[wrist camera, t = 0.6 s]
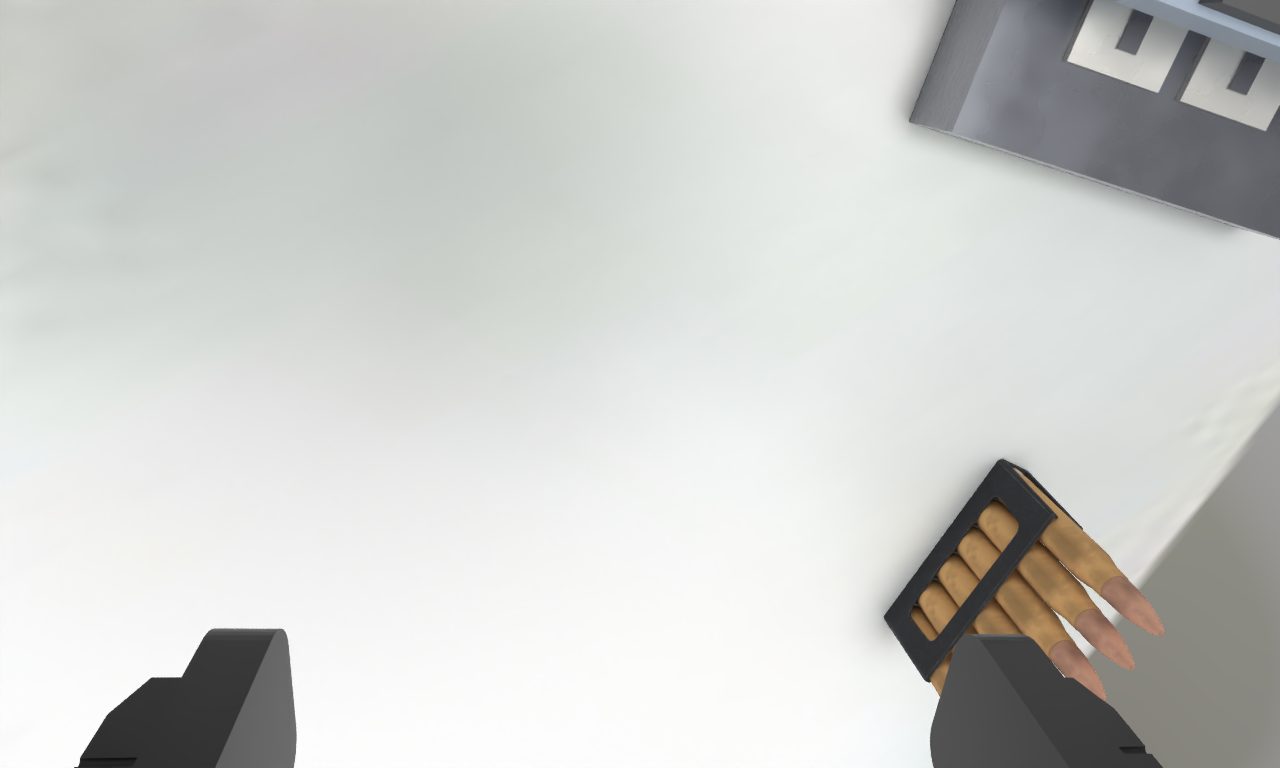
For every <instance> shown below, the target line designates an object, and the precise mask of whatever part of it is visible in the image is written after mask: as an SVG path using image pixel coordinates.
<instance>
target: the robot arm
mask: <svg viewBox="0 0 1280 768" xmlns="http://www.w3.org/2000/svg"><path fill="white" fill-rule="evenodd" d="M930 748H931V757H932V762H933V766H934V768H1163V767H1162V766H1161V765H1160V764H1159V763H1158V761H1157V760H1156V759H1155V758H1154V756H1153V755H1152V754H1147V753H1146V751H1145V745H1144V744H1143V743H1142V742H1141V741H1140V739H1139V738H1138V737H1137V736H1136V734H1135V733H1134V732H1133V731H1132V730H1131V728H1130V727H1129V726H1128V725H1127V724H1126V722H1125V721H1124V720H1123V719H1122V717H1121V716H1120V715H1119V714H1118V712H1117V711H1116V710H1115V709H1114V708H1113V707H1111V706H1110V705H1109V704H1107V703H1106V702H1105V701H1103V700H1102V699H1101V698H1099V697H1098V696H1097V695H1095V694H1094V693H1093V692H1091V691H1090V690H1089V689H1088V688H1086V687H1085V686H1084V685H1082V684H1081V683H1080V682H1078V681H1077V680H1076V679H1074V678H1064V677H1063V675H1062V674H1061V673H1060V672H1059V670H1058V669H1057V668H1056V667H1055V665H1054V664H1053V663H1052V661H1051V660H1050V659H1049V658H1048V656H1047V655H1046V654H1045V652H1044V651H1043V650H1042V649H1041V647H1040V646H1039V645H1038V644H1037V643H1036V642H1035V640H1033V639H1032V638H1031V637H1029V636H1027V635H1023V634H966V635H963V636H962V637H961V638H960V639H959V640H958V642H957V643H956V646H955V648H954V652H953V655H952V658H951V662H950V665H949V669H948V672H947V675H946V679H945V682H944V686H943V689H942V692H941V696H940V699H939V703H938V706H937V709H936V713H935V716H934V720H933V723H932V727H931V734H930ZM295 754H296V721H295V710H294V699H293V688H292V678H291V667H290V656H289V645H288V639H287V635H286V633H285V631H284V630H283V629H211V630H210V631H209V632H208V633H207V634H206V635H205V637H204V638H203V640H202V642H201V643H200V645H199V647H198V649H197V651H196V652H195V654H194V656H193V658H192V660H191V661H190V663H189V665H188V667H187V669H186V670H185V672H184V674H183V676H182V677H177V678H151V679H149V680H148V681H147V682H146V683H145V684H143V685H142V686H141V687H140V688H139V689H137V690H136V691H135V692H134V693H133V694H131V695H130V696H129V697H128V698H127V699H125V700H124V701H123V702H122V703H121V704H119V705H118V706H117V707H116V708H115V709H114V710H112V711H111V712H110V713H109V714H108V715H107V716H106V718H105V719H104V721H103V723H102V724H101V726H100V727H99V729H98V731H97V732H96V734H95V735H94V737H93V738H92V740H91V742H90V743H89V745H88V746H87V748H86V750H85V751H84V753H83V754H82V756H81V758H80V764H79V766H78V767H74V768H294V762H295Z"/></svg>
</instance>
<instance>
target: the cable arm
mask: <svg viewBox="0 0 1280 768" xmlns="http://www.w3.org/2000/svg"><path fill="white" fill-rule="evenodd" d="M1112 1H1114V2H1117V3H1119V4H1122V5H1125V6H1127V7H1130V8H1133V9H1135V10H1138V11H1141V12H1143V13H1146V14H1149V15H1151V16H1154V17H1157V18H1159V19H1162V20H1165V21H1167V22H1170V23H1173V24H1175V25H1178V26H1181V27H1183V28H1186V29H1189V30H1191V31H1194V32H1197V33H1199V34H1202V35H1205V36H1207V37H1210V38H1213V39H1215V40H1218V41H1221V42H1223V43H1226V44H1229V45H1231V46H1234V47H1237V48H1239V49H1242V50H1245V51H1247V52H1250V53H1253V54H1255V55H1258V56H1261V57H1263V58H1266V59H1269V60H1271V61H1274V62H1277V63H1279V64H1280V0H1112Z"/></svg>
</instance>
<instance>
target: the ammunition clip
mask: <svg viewBox="0 0 1280 768" xmlns="http://www.w3.org/2000/svg"><path fill="white" fill-rule="evenodd" d="M1038 539H1039V540H1040V541H1041V542H1042V543H1043V544H1044V545H1045V546H1044V545H1043V544H1042V543H1041V542H1040V541H1039V540H1038ZM1059 561H1060V562H1061V563H1062V564H1063V565H1064V566H1065V567H1066V568H1067V569H1068V570H1069V571H1070V572H1071V573H1072V574H1073V575H1074V576H1075V577H1076V578H1078V579H1079V580H1080V581H1082V582H1083V583H1085V584H1086V585H1088V586H1089V587H1091V588H1092V589H1093V590H1094V591H1095V592H1097V593H1098V594H1099V595H1100V596H1101V597H1102V598H1103V599H1105V600H1106V601H1107V602H1108V603H1109V604H1110V605H1111V606H1112V607H1113V608H1114V609H1116V610H1117V611H1118V612H1119V613H1120V614H1122V615H1123V616H1124V617H1126V618H1127V619H1128V620H1130V621H1131V622H1133V623H1134V624H1135V625H1137V626H1139V627H1140V628H1142V629H1144V630H1146V631H1147V632H1150V633H1152V634H1155V635H1158V636H1163V635H1164V629H1163V625H1162V623H1161V621H1160V619H1159V617H1158V616H1157V614H1156V612H1155V610H1154V609H1153V607H1152V606H1151V605H1150V603H1149V602H1148V601H1147V600H1146V598H1145V597H1144V596H1143V595H1142V594H1141V592H1140V591H1139V590H1138V589H1137V588H1136V587H1135V586H1134V585H1133V584H1132V583H1131V582H1130V581H1129V580H1128V578H1127V577H1126V576H1125V575H1124V574H1123V573H1122V572H1121V571H1120V570H1119V569H1118V568H1117V567H1116V565H1115V563H1114V562H1113V560H1112V559H1111V557H1110V556H1109V555H1108V554H1107V553H1106V552H1105V551H1104V550H1103V549H1102V548H1101V547H1100V546H1099V545H1098V544H1097V543H1096V542H1095V541H1094V540H1093V539H1091V538H1090V537H1089V536H1088V535H1087V534H1086V533H1085V532H1084V531H1083V528H1082V527H1081V526H1080V525H1079V524H1078V523H1077V522H1076V521H1075V520H1074V519H1073V518H1072V517H1071V516H1070V515H1069V513H1068V512H1067V511H1066V510H1065V509H1064V508H1063V507H1062V506H1061V505H1060V504H1059V503H1058V502H1057V501H1056V500H1055V499H1054V498H1053V497H1052V496H1051V495H1050V494H1049V493H1048V491H1047V490H1046V489H1045V488H1044V487H1043V486H1042V485H1041V484H1040V483H1039V482H1038V481H1037V480H1036V479H1035V478H1034V477H1033V476H1032V475H1031V474H1030V473H1029V472H1028V471H1026V470H1024V469H1022V468H1020V467H1018V466H1016V465H1014V464H1012V463H1010V462H1008V461H1006V460H1004V459H1003V460H999V461H997V463H996V464H995V466H994V467H993V468H992V470H991V471H990V472H989V474H988V475H987V476H986V478H985V479H984V481H983V482H982V483H981V485H980V486H979V487H978V489H977V490H976V491H975V493H974V494H973V496H972V497H971V498H970V500H969V501H968V502H967V504H966V505H965V506H964V508H963V509H962V511H961V512H960V513H959V515H958V516H957V517H956V519H955V520H954V521H953V523H952V524H951V526H950V527H949V528H948V530H947V531H946V532H945V534H944V535H943V536H942V538H941V539H940V541H939V542H938V543H937V545H936V546H935V547H934V549H933V550H932V551H931V553H930V554H929V556H928V557H927V558H926V560H925V561H924V562H923V564H922V565H921V566H920V568H919V569H918V571H917V572H916V573H915V575H914V576H913V577H912V579H911V580H910V581H909V583H908V584H907V586H906V587H905V588H904V590H903V591H902V592H901V594H900V595H899V596H898V598H897V599H896V601H895V602H894V603H893V605H892V606H891V607H890V609H889V610H888V611H887V613H886V614H885V616H884V619H885V621H886V622H887V624H888V625H889V627H890V628H891V630H892V631H893V633H894V634H895V636H896V637H897V639H898V641H899V642H900V644H901V645H902V647H903V648H904V650H905V651H906V653H907V654H908V656H909V657H910V659H911V660H912V662H913V663H914V665H915V666H916V668H917V669H918V671H919V673H920V674H921V676H922V677H923V679H924V680H925V681H927V682H929V683H930V682H932V684H933V686H934V687H935V689H936V691H937V692H938V694H939V696H941V692H942V689H943V686H944V682H945V679H946V675H947V672H948V669H949V665H950V662H951V658H952V655H953V652H954V648H955V646H956V643H957V642H958V640H959V639H960V638H961V637H962V636H963V635H966V634H1023V635H1027V636H1029V637H1031V638H1032V639H1033V640H1035V642H1036V643H1037V644H1038V645H1039V646H1040V647H1041V649H1042V650H1043V651H1044V652H1045V654H1046V655H1047V656H1048V658H1049V659H1050V660H1051V661H1052V662H1053V663H1054V664H1055V666H1056V667H1057V668H1058V669H1059V670H1060V671H1061V673H1062V674H1063V675H1064V676H1065V677H1066V678H1074V679H1076V680H1077V681H1078V682H1080V683H1081V684H1082V685H1084V686H1085V687H1086V688H1088V689H1089V690H1090V691H1091V692H1093V693H1094V694H1095V695H1097V696H1098V697H1099V698H1101V699H1102V700H1103V701H1105V702H1106V694H1105V691H1104V688H1103V685H1102V683H1101V682H1100V679H1099V677H1098V675H1097V674H1096V672H1095V670H1094V668H1093V667H1092V665H1091V664H1090V662H1089V661H1088V659H1087V658H1086V656H1085V655H1084V654H1083V653H1082V652H1081V650H1080V649H1079V648H1078V647H1077V646H1076V644H1075V642H1074V641H1073V639H1072V638H1071V637H1070V636H1069V634H1068V633H1067V632H1066V630H1065V629H1064V627H1063V625H1062V623H1061V621H1060V619H1059V617H1058V616H1057V615H1056V614H1055V612H1057V613H1058V614H1059V615H1061V616H1062V617H1064V618H1065V619H1066V620H1067V621H1068V622H1069V623H1070V624H1071V625H1072V626H1073V627H1074V628H1075V629H1076V630H1077V631H1079V632H1080V633H1081V635H1082V636H1083V637H1084V638H1085V639H1086V640H1087V641H1088V642H1089V643H1090V644H1091V645H1092V646H1094V647H1095V648H1096V649H1097V650H1098V651H1099V652H1101V653H1102V654H1103V655H1105V656H1106V657H1107V658H1109V659H1110V660H1112V661H1113V662H1115V663H1117V664H1118V665H1120V666H1122V667H1124V668H1126V669H1130V670H1133V669H1134V668H1135V664H1134V660H1133V657H1132V655H1131V653H1130V651H1129V649H1128V647H1127V645H1126V643H1125V642H1124V640H1123V639H1122V637H1121V635H1120V634H1119V633H1118V632H1117V630H1116V629H1115V627H1114V626H1113V625H1112V624H1111V623H1110V621H1109V620H1108V619H1107V618H1106V617H1105V616H1104V615H1103V614H1102V612H1101V611H1100V609H1099V608H1098V607H1097V606H1096V605H1095V604H1094V602H1093V601H1092V600H1091V599H1090V597H1089V595H1088V594H1087V592H1086V590H1085V589H1084V587H1083V586H1082V585H1081V583H1080V582H1079V581H1078V580H1077V579H1076V578H1075V577H1074V576H1073V575H1072V574H1071V573H1070V572H1069V571H1068V570H1067V569H1066V568H1065V567H1064V566H1063V565H1062V564H1061V563H1060V562H1059ZM1048 605H1049V606H1050V607H1051V608H1052V609H1053V610H1054V611H1055V612H1054V611H1053V610H1052V609H1051V608H1050V607H1049V606H1048Z"/></svg>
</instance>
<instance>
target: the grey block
mask: <svg viewBox="0 0 1280 768" xmlns="http://www.w3.org/2000/svg"><path fill="white" fill-rule="evenodd" d="M909 122H911V123H914V124H918V125H921V126H924V127H927V128H930V129H933V130H936V131H939V132H942V133H945V134H949V135H952V136H955V137H958V138H961V139H964V140H967V141H970V142H973V143H976V144H980V145H983V146H986V147H989V148H992V149H995V150H998V151H1001V152H1004V153H1007V154H1011V155H1014V156H1017V157H1020V158H1023V159H1026V160H1029V161H1032V162H1035V163H1038V164H1042V165H1045V166H1048V167H1051V168H1054V169H1057V170H1060V171H1063V172H1066V173H1069V174H1073V175H1076V176H1079V177H1082V178H1085V179H1088V180H1091V181H1094V182H1097V183H1100V184H1104V185H1107V186H1110V187H1113V188H1116V189H1119V190H1122V191H1125V192H1128V193H1132V194H1135V195H1138V196H1141V197H1144V198H1147V199H1150V200H1153V201H1156V202H1159V203H1163V204H1166V205H1169V206H1172V207H1175V208H1178V209H1181V210H1184V211H1187V212H1190V213H1194V214H1197V215H1200V216H1203V217H1206V218H1209V219H1212V220H1215V221H1218V222H1221V223H1225V224H1228V225H1231V226H1234V227H1237V228H1240V229H1244V230H1247V231H1251V232H1254V233H1258V234H1261V235H1265V236H1268V237H1272V238H1275V239H1279V240H1280V64H1279V63H1277V62H1274V61H1271V60H1269V59H1266V58H1263V57H1261V56H1258V55H1255V54H1253V53H1250V52H1247V51H1245V50H1242V49H1239V48H1237V47H1234V46H1231V45H1229V44H1226V43H1223V42H1221V41H1218V40H1215V39H1213V38H1210V37H1207V36H1205V35H1202V34H1199V33H1197V32H1194V31H1191V30H1189V29H1186V28H1183V27H1181V26H1178V25H1175V24H1173V23H1170V22H1167V21H1165V20H1162V19H1159V18H1157V17H1154V16H1151V15H1149V14H1146V13H1143V12H1141V11H1138V10H1135V9H1133V8H1130V7H1127V6H1125V5H1122V4H1119V3H1117V2H1114V1H1112V0H957V1H956V4H955V7H954V9H953V12H952V14H951V17H950V19H949V22H948V24H947V27H946V29H945V32H944V35H943V37H942V40H941V42H940V45H939V47H938V50H937V52H936V55H935V58H934V60H933V63H932V65H931V68H930V70H929V73H928V75H927V78H926V81H925V83H924V86H923V88H922V91H921V93H920V96H919V98H918V101H917V104H916V106H915V109H914V111H913V114H912V116H911V119H910V121H909Z"/></svg>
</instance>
